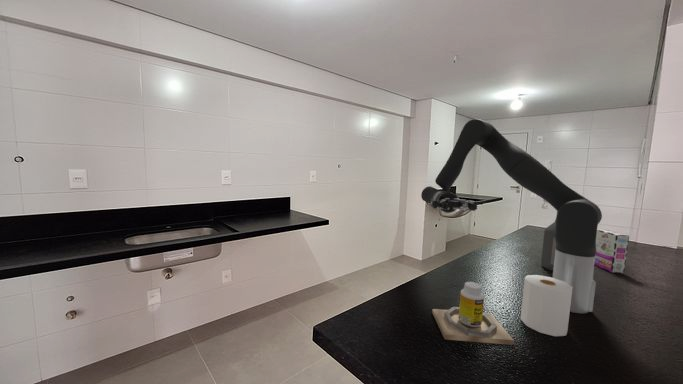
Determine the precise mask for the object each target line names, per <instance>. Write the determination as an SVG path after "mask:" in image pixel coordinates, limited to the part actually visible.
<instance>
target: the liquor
mask: <svg viewBox="0 0 683 384" xmlns="http://www.w3.org/2000/svg"><path fill="white" fill-rule="evenodd" d="M557 214H558V211H557V210H556V216H555V220H554V221H553V223H551V224H550V225H548V226H547V227H545V228H544V232H543V242H542V252H541V259H540V260H541V261H540V265H541V267H543V268H545V269H546V270H548V271H550V272H551V271H552V272H553V269H554V260H555V251H556V241H555V233H556V220H557Z"/></svg>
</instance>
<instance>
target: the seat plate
mask: <svg viewBox="0 0 683 384" xmlns="http://www.w3.org/2000/svg"><path fill="white" fill-rule="evenodd" d="M431 310H432V311H431V312H432V315H433V317H434V319H435V322H436V324H437V327H438V328H439V331H440V332H441V336H442V337H443V338H444V340H448V341H459V342H460V341H461V342H471V343H472V342H473V343H483V344H485V343H486V344H497V345H508V346H509V345H510V346H514V343H515V342H514V341H515V340H514V339H513V338H512V336H511V335H510V334H509V333H508V332H507V331H506V329H505V327H503V326H502V325H501V324H500V322H499V321H498V320H497V319H496V318H495V317H494V315H493V314H492V312H483V315H482V324H481V325H480V326H479V327H470V326H467V325H465V324H463V323H462V322H461V321H460V320H459V306H452V307H450V308H449V309H440V308H432V309H431Z"/></svg>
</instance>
